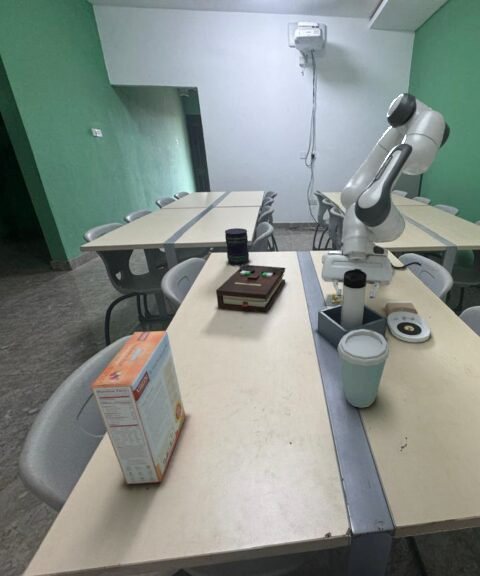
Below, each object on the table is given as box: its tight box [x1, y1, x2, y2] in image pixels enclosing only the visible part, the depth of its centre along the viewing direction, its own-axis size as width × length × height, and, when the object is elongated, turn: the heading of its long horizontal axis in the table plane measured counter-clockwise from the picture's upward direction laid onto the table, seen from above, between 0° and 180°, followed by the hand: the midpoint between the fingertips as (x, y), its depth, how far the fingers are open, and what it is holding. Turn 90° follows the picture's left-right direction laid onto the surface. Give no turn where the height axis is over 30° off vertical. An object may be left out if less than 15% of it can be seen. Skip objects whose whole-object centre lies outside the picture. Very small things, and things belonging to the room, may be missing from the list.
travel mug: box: [341, 269, 367, 330], centre depth 90 cm, size 6×7×20 cm
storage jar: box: [224, 227, 250, 267], centre depth 146 cm, size 10×10×15 cm
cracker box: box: [90, 330, 187, 485], centre depth 53 cm, size 14×6×21 cm, turn 5°
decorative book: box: [215, 264, 286, 314], centre depth 116 cm, size 19×8×30 cm
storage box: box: [317, 304, 388, 350], centre depth 92 cm, size 15×14×7 cm
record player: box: [384, 301, 431, 343], centre depth 100 cm, size 12×3×20 cm
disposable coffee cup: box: [336, 329, 390, 409], centre depth 68 cm, size 11×11×15 cm
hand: (355, 296), depth 89 cm, fingers open, 8 cm apart
